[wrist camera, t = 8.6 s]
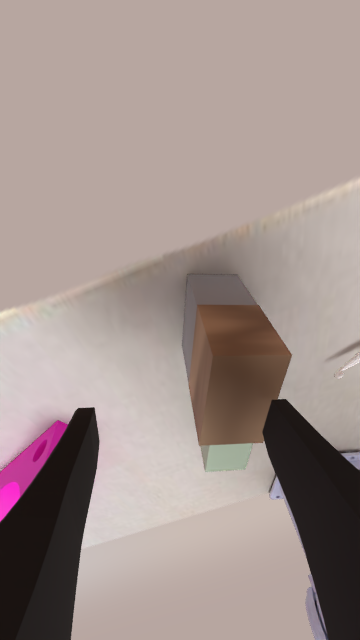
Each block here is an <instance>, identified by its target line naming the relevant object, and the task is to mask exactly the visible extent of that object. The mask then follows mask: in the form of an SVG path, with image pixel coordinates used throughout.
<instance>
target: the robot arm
mask: <svg viewBox="0 0 360 640" xmlns="http://www.w3.org/2000/svg"><path fill="white" fill-rule="evenodd" d="M262 433H263V437H264V441H265V445H266V448H267V451H268V455H269V458H270V460H271V463H272V465H273V468H274V470H275V473H276V478H275V481H274V483H273V486H272V489H271V491H270V494H269V497H270V499H284V501H285V503H286V506H287V508H288V511H289V514H290V516H291V519H292V521H293V524H294V527H295V529H296V532H297V534H298V537H299V540H300V542H301V545H302V548H303V550H304V553H305V555H306V558H307V561H308V564H309V568H310V571H311V574H310V575H308V577H309V579H310V582H311V585H312V587H309V588H308V589H307V596H306V610H307V615H308V619H309V622H310V626H311V629H312V632H313V634H314V638H315V640H360V452H353V453H339V452H338V451H337V450H336V449H335V448H334V447H333V446H332V445H331V444H330V443H329V442H328V441H326V440H325V439H324V438H323V437H322V436H321V435H320V434H319V433H318V432H317V431H316V430H315V429H314V428H313V427H312V426H311V425H310V424H309V423H308V422H307V421H306V420H305V418H304V417H303V416H302V415H301V414H300V413H299V412H298V411H297V410H296V409H295V408H294V407H293V406H292V405H291V404H290V403H289V402H288V401H287V400H286V399H277V400H272V401H271V404H270V407H269V411H268V414H267V417H266V421H265V424H264V428H263V431H262ZM98 451H99V435H98V428H97V421H96V415H95V408H94V407H93V408H78V409H77V410H76V411H75V413H74V415H73V417H72V419H71V421H70V422H69V424H68V426H67V428H66V430H65V431H64V433H63V435H62V436H61V438H60V440H59V442H58V443H57V445H56V446H55V448H54V449H53V451H52V453H51V454H50V456H49V457H48V459H47V460H46V462H45V463H44V465H43V466H42V468H41V469H40V471H39V472H38V473H37V475H36V476H35V478H34V479H33V481H32V482H31V483H30V485H29V486H28V488H27V489H26V490H25V492H24V493H23V494H22V496H21V497H20V498H19V499H18V501H17V502H16V503H15V504H14V506H13V507H12V508H11V509H10V511H9V512H8V513H7V514H6V516H5V517H4V518H3V519H2V520H1V522H0V640H71V631H72V622H73V612H74V602H75V594H76V585H77V576H78V568H79V560H80V552H81V544H82V539H83V533H84V528H85V523H86V518H87V513H88V508H89V503H90V499H91V494H92V489H93V484H94V479H95V474H96V469H97V461H98Z"/></svg>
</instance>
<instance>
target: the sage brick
mask: <svg viewBox="0 0 360 640" xmlns="http://www.w3.org/2000/svg"><path fill="white" fill-rule="evenodd" d="M252 445H253V443H247V444H227V445H206V446H201V452H202V457H203V463H204V469H205V472H214V471H230V470H245V469H246V466H247V462H248V459H249V455H250V452H251V448H252Z"/></svg>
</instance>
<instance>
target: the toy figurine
mask: <svg viewBox="0 0 360 640" xmlns="http://www.w3.org/2000/svg"><path fill="white" fill-rule="evenodd" d="M357 363H360V352H359V353H357V354H356V356H355V357H353V358H352V359H351V360H349V361H348V362H347V363H346V364H345V365H344V366H342V367H341V368H340V369H339V370H337V371H336V372H335V374H334V377H336V378H337V379H339V378H343V375H344V373H343V372H342V371H344V370H346V369H348V368H349V367H351V366H353V365H355V364H357Z"/></svg>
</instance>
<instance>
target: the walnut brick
mask: <svg viewBox="0 0 360 640" xmlns="http://www.w3.org/2000/svg"><path fill="white" fill-rule="evenodd" d="M291 356H292V354H291V353H290V351H289V350H288V348H287V347H286V345H285V344H284V342H283V341H282V339H281V338H280V336H279V335H278V333H277V332H276V330H275V329H274V327H273V326H272V324H271V323H270V321H269V320H268V318H267V317H266V315H265V314H264V313H263V311H262V310H261V308H260V307H259V305H197V311H196V320H195V330H194V339H193V349H192V358H191V367H190V377H189V390H190V396H191V402H192V407H193V413H194V419H195V425H196V430H197V436H198V442H199V446H206V445H227V444H247V443H263V441H264V437H263V433H262V431H263V428H264V424H265V421H266V417H267V414H268V411H269V407H270V404H271V401H272V400H277V399H278V396H279V393H280V390H281V387H282V384H283V381H284V378H285V375H286V372H287V369H288V366H289V363H290V360H291Z"/></svg>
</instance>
